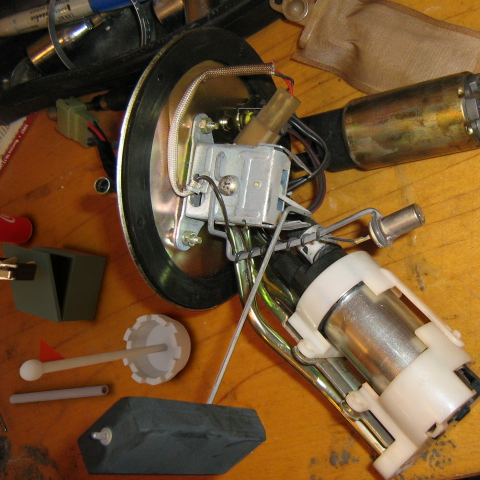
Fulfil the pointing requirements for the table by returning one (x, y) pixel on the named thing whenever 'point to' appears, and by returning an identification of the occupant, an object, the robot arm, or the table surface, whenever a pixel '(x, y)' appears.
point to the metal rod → (60, 394)
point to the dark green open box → (76, 281)
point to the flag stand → (128, 352)
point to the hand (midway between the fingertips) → (21, 269)
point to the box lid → (34, 284)
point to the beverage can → (14, 229)
